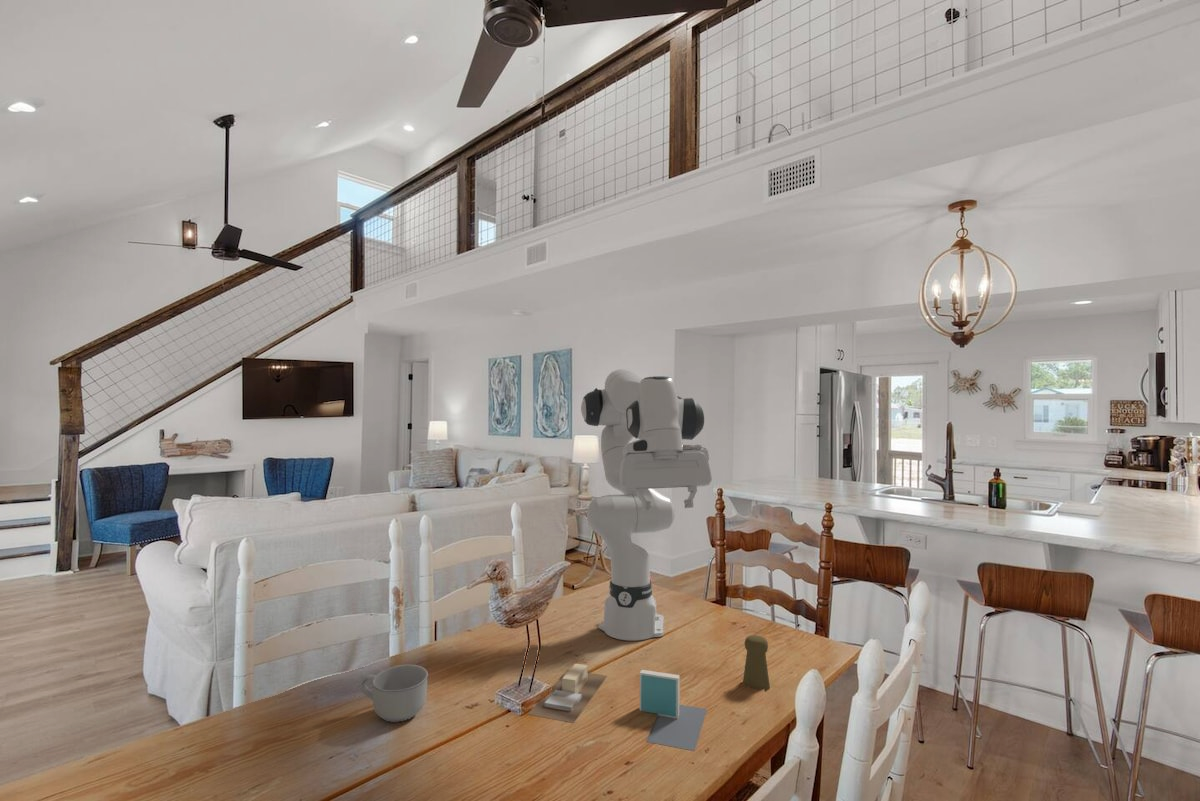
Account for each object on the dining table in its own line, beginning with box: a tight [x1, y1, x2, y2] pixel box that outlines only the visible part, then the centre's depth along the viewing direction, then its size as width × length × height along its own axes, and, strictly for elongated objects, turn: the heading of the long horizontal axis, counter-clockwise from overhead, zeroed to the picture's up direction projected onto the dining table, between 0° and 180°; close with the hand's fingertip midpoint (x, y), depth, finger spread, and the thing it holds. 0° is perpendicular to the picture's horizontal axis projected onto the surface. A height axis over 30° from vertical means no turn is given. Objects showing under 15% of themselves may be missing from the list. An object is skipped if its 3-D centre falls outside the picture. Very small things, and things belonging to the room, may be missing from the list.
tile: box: [639, 669, 681, 719], centre depth 120 cm, size 2×8×8 cm, turn 72°
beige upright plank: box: [545, 663, 589, 711], centre depth 127 cm, size 14×6×4 cm, turn 162°
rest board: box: [527, 669, 608, 724], centre depth 127 cm, size 22×10×1 cm, turn 162°
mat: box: [645, 704, 708, 752], centre depth 117 cm, size 16×18×1 cm
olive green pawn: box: [742, 634, 771, 692], centre depth 134 cm, size 6×6×11 cm
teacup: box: [359, 664, 429, 723], centre depth 120 cm, size 14×11×8 cm
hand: (668, 508), depth 126 cm, fingers open, 8 cm apart
